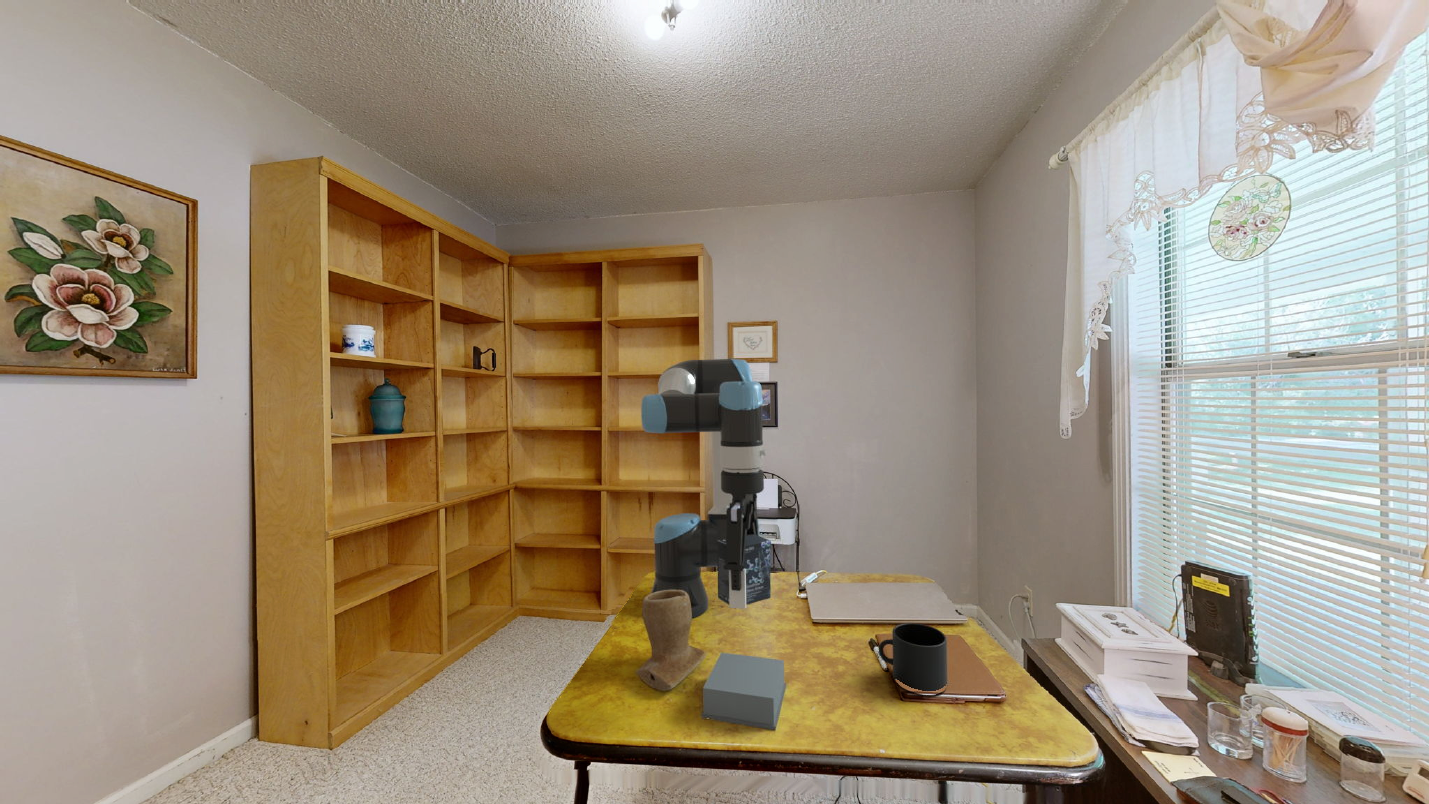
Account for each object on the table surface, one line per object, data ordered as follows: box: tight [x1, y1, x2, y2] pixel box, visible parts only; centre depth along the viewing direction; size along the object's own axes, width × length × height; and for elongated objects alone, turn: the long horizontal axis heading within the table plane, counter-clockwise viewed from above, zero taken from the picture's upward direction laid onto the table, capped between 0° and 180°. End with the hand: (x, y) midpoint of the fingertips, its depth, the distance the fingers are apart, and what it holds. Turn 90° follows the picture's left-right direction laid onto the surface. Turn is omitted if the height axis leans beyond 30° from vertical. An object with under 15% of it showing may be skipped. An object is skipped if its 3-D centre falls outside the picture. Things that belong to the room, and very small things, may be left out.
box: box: [717, 534, 772, 610], centre depth 89 cm, size 8×6×11 cm
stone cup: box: [636, 590, 707, 692], centre depth 100 cm, size 15×12×15 cm
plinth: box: [700, 652, 787, 731], centre depth 89 cm, size 13×13×5 cm
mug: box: [878, 622, 948, 691], centre depth 95 cm, size 9×12×9 cm
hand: (744, 595), depth 89 cm, fingers closed on box, 9 cm apart
